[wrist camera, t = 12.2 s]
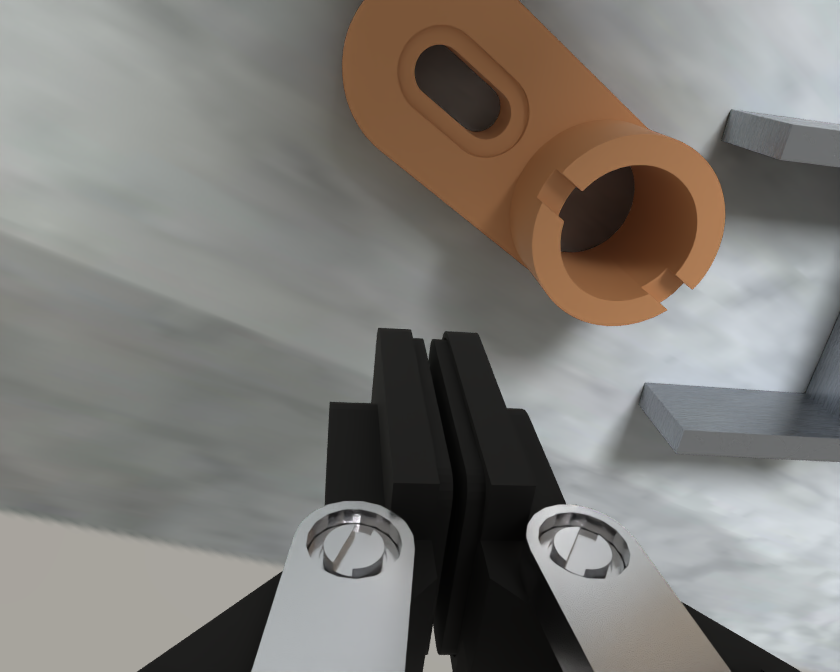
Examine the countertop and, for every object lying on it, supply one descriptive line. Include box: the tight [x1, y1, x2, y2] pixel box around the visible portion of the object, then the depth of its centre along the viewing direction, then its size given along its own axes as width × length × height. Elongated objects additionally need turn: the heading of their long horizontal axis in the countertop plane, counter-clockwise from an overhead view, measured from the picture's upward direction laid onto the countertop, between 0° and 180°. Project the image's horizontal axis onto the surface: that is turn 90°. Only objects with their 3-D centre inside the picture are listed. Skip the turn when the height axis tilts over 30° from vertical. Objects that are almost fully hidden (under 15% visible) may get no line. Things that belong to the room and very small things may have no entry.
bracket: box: [342, 0, 725, 326], centre depth 29 cm, size 18×8×7 cm, turn 51°
